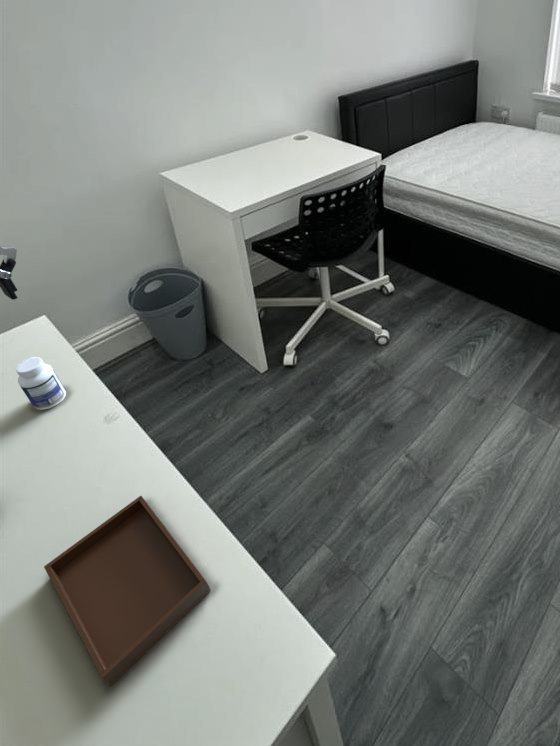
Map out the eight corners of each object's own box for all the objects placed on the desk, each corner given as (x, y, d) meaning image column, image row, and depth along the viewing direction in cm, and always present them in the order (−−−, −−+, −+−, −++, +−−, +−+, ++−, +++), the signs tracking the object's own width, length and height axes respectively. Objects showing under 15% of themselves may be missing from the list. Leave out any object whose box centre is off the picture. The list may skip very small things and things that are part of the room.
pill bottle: (36, 394, 95) (13, 359, 89) (68, 385, 97) (48, 350, 91) (31, 414, 91) (7, 379, 85) (65, 404, 93) (44, 369, 87)
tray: (51, 576, 68) (43, 566, 66) (146, 504, 76) (141, 495, 75) (110, 686, 58) (102, 678, 56) (211, 590, 66) (206, 581, 65)
